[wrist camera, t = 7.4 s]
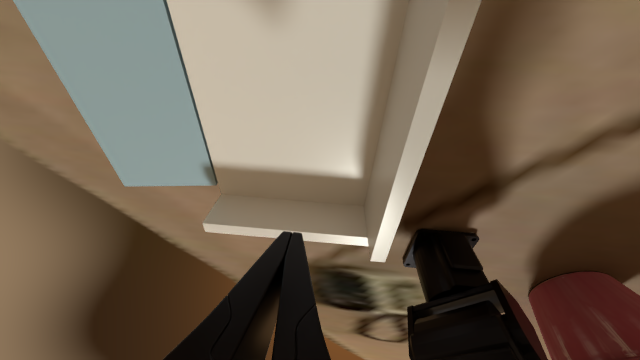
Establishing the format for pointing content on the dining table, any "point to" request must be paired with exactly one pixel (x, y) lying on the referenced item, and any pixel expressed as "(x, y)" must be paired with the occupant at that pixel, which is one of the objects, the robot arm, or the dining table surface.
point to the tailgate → (127, 85)
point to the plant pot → (587, 317)
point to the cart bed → (319, 108)
